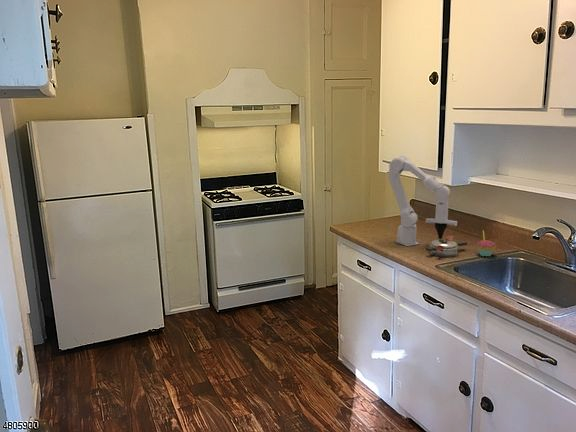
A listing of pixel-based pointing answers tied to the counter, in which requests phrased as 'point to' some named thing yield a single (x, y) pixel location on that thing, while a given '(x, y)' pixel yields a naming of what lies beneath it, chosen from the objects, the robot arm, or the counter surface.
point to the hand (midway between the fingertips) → (440, 238)
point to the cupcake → (485, 247)
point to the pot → (445, 250)
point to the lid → (444, 243)
